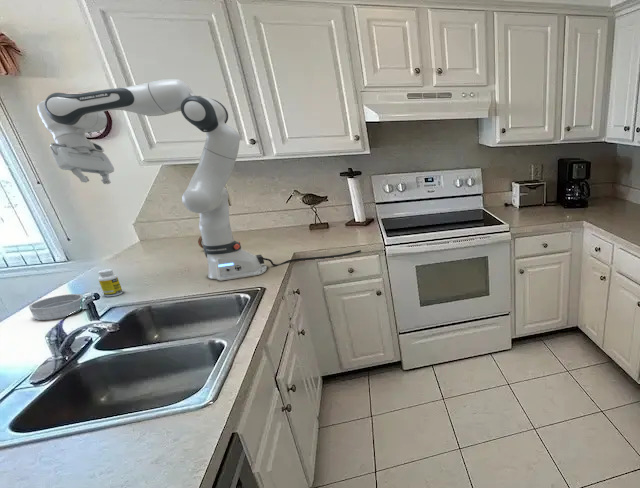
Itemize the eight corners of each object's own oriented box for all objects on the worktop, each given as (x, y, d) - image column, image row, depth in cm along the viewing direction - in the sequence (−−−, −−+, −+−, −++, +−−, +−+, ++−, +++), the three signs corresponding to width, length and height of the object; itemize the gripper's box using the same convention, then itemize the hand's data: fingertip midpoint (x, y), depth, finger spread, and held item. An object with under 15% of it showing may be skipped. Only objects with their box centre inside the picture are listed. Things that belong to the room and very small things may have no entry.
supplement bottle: (119, 296, 158) (109, 272, 154) (101, 297, 156) (92, 273, 153) (126, 291, 163) (117, 267, 159) (109, 292, 161) (100, 269, 157)
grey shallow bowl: (95, 303, 151) (90, 292, 150) (75, 317, 140) (70, 305, 138) (49, 308, 147) (44, 296, 146) (24, 323, 136) (18, 311, 134)
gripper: (55, 138, 141) (79, 177, 144) (106, 147, 161) (126, 181, 164) (38, 145, 141) (62, 183, 144) (91, 153, 161) (111, 187, 164)
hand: (97, 182), depth 154 cm, fingers open, 8 cm apart
